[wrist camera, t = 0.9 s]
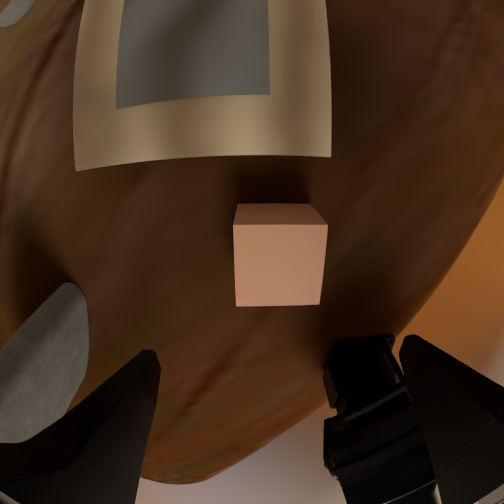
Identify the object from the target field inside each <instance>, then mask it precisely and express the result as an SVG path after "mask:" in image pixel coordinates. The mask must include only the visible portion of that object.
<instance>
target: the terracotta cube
mask: <svg viewBox="0 0 504 504" xmlns="http://www.w3.org/2000/svg"><path fill="white" fill-rule="evenodd" d="M327 230H328V224H327V223H326V222H325V221H324V220H323V218H322V217H321V216H320V215H319V214H318V213H317V212H316V210H315V209H314V208H313V207H312V206H311V205H310V204H275V203H266V204H238V205H237V209H236V214H235V218H234V223H233V237H234V264H235V289H236V306H289V305H318V304H319V303H320V296H321V288H322V279H323V271H324V262H325V252H326V241H327Z"/></svg>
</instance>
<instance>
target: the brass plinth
mask: <svg viewBox="0 0 504 504" xmlns="http://www.w3.org/2000/svg"><path fill="white" fill-rule="evenodd" d="M73 139H74V156H75V169H76V171H81V170H86V169H92V168H98V167H105V166H112V165H119V164H126V163H134V162H143V161H152V160H162V159H174V158H187V157H203V156H227V155H296V156H319V157H331V70H330V50H329V35H328V23H327V13H326V3H325V0H85V4H84V8H83V13H82V18H81V24H80V30H79V36H78V43H77V51H76V60H75V72H74V89H73Z"/></svg>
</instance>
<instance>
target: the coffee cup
mask: <svg viewBox="0 0 504 504" xmlns="http://www.w3.org/2000/svg"><path fill="white" fill-rule="evenodd" d="M35 1H36V0H0V27H7V26H9V25H13V24H15V23H16V22H18V21H19V20H20V19H21V18H22V17H23V16H24V15H25V14H26V13H27V12H28V11H29V9H30V8H31V7H32V5H33V4H34V2H35Z"/></svg>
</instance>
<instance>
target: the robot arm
mask: <svg viewBox="0 0 504 504" xmlns="http://www.w3.org/2000/svg"><path fill="white" fill-rule="evenodd" d="M394 343H395V337H394V335H385V336H377V337H369V338H359V339H349V340H339V341H336V342H334V344H333V347H332V351H331V355H330V360H328V361H327V362H326V367H325V371H324V375H323V381H324V387H325V389H326V393H327V397H328V401H329V405H330V407H331V408H332V409H336V410H337V414H338V415H336V416H334V417H332V418H327V419H325V420H324V447H323V448H324V449H323V451H324V452H323V459H324V466H325V468H327V469H328V470H329V472H330V473H331V475H332V476H333V477H334V479H336V480H338V481H339V482H340V485H341V487H342V490H343V493H344V496H345V499H346V502H347V504H439V502H438V499H437V496H436V493H435V488H436V485H438V489H439V493H440V498H441V502H442V504H473V503H475V502H477V501H478V502H479V504H504V387H503V386H501V385H499V384H497V383H495V382H494V381H492V380H490V379H489V378H487V377H485V376H484V375H482V374H480V373H479V372H477V371H475V370H474V369H472V368H471V367H469V366H467V365H466V364H464V363H462V362H461V361H459V360H457V359H456V358H454V357H452V356H451V355H449V354H447V353H446V352H444V351H443V350H441V349H439V348H438V347H436V346H434V345H432V344H431V343H429V342H428V341H426V340H424V339H422V338H421V337H419V336H418V335H415V334H412V335H407V336H406V337H405V338H404V340H403V343H402V346H401V348H400V351H399V358H400V362H401V366H402V369H403V372H402V370H401V368H400V366H399V364H398V363H397V361H396V359H395V357H394V355H393V354H392V348H393V346H394ZM338 345H340V346H338ZM403 373H404V374H403ZM160 374H161V367H160V364H159V361H158V358H157V355H156V353H155V351H154V350H142V351H141V352H140V353H139V354H137V355H136V356H135V357H134V358H133V359H131V360H130V361H129V362H128V363H127V364H125V365H124V366H123V367H122V368H121V369H119V370H118V371H117V372H116V373H115V374H114V375H112V376H111V377H110V378H109V379H108V380H106V381H105V382H104V383H103V384H102V385H100V386H99V387H98V388H97V389H96V390H94V391H93V392H92V393H91V394H90V395H88V396H87V397H86V398H85V399H84V400H82V401H81V402H80V403H79V405H76V406H75V407H74V408H73V409H71V410H70V411H69V412H68V413H66V414H65V415H64V416H63V417H61V418H60V419H58V420H57V421H56V422H54V423H53V424H51V425H50V426H48V427H47V428H45V429H44V430H42V431H41V432H39V433H37V434H36V435H34V436H33V437H31V438H30V439H28V440H25V441H23V442H18V443H0V504H135V500H136V494H137V489H138V484H139V479H140V474H141V469H142V465H143V460H144V456H145V451H146V447H147V442H148V438H149V434H150V430H151V426H152V422H153V417H154V413H155V409H156V403H157V395H158V388H159V381H160Z"/></svg>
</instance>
